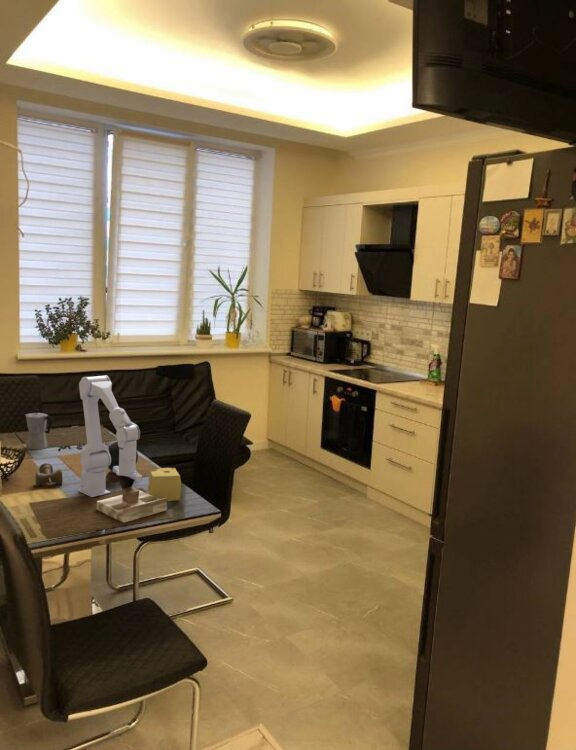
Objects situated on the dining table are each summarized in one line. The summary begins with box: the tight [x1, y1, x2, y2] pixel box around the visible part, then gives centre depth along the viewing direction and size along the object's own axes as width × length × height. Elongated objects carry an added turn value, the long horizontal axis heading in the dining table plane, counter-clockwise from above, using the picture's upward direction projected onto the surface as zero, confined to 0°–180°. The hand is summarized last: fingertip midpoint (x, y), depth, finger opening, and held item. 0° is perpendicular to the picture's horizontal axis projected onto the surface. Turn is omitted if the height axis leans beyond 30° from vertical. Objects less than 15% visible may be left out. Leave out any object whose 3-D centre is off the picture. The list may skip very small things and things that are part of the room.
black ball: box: [106, 440, 139, 482], centre depth 254 cm, size 13×13×15 cm
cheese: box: [147, 467, 182, 502], centre depth 234 cm, size 10×11×10 cm
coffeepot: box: [24, 408, 54, 451], centre depth 288 cm, size 15×9×18 cm, turn 70°
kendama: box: [34, 462, 64, 488], centre depth 243 cm, size 6×10×20 cm
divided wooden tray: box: [96, 489, 168, 524], centre depth 220 cm, size 16×18×4 cm
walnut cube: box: [121, 486, 140, 504], centre depth 220 cm, size 4×4×4 cm
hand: (126, 496), depth 222 cm, fingers closed, pressing on walnut cube
